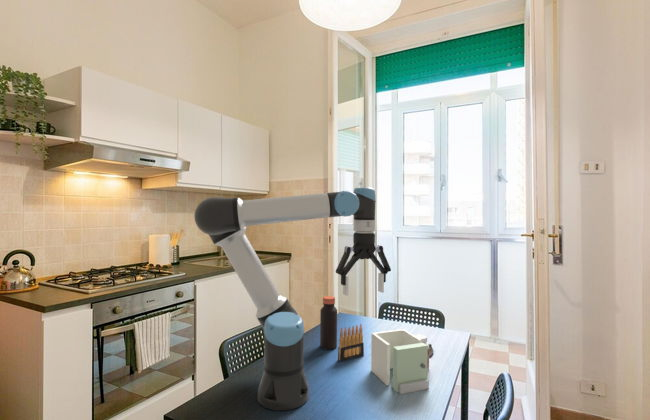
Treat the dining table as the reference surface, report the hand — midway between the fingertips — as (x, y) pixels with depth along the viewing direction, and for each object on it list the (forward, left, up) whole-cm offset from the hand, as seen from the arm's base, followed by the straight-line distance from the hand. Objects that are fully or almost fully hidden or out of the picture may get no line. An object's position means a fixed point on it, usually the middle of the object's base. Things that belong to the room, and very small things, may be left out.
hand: (363, 293), depth 120 cm
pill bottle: (+20, -5, -27) cm, 34 cm away
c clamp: (+27, +12, -28) cm, 40 cm away
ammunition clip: (0, +10, -27) cm, 29 cm away
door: (+9, -16, -27) cm, 32 cm away
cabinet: (+9, -10, -27) cm, 30 cm away
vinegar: (-4, +23, -27) cm, 35 cm away
